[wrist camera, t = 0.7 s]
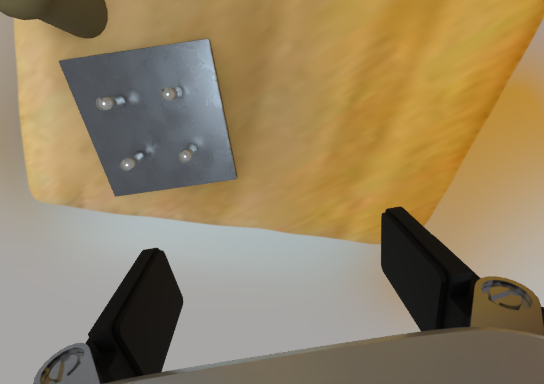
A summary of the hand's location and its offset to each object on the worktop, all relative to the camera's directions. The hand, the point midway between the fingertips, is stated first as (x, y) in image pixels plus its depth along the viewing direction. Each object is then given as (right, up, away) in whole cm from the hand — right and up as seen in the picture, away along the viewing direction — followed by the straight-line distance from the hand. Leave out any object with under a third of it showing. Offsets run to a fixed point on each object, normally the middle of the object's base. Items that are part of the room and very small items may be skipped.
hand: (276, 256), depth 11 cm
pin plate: (-16, +12, +25) cm, 32 cm away
